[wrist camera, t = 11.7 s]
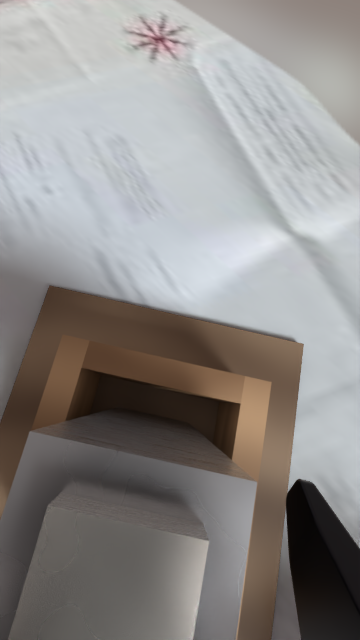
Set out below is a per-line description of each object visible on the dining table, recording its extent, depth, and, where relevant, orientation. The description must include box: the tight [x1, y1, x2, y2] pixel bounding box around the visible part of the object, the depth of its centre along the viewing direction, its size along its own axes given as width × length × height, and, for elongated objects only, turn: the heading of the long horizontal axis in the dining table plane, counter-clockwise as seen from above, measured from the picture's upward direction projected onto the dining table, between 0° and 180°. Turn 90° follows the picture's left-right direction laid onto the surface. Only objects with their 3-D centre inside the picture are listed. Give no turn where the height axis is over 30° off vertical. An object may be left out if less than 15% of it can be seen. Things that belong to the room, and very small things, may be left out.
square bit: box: [0, 407, 257, 640], centre depth 10 cm, size 4×4×13 cm
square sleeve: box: [0, 286, 304, 640], centre depth 14 cm, size 16×16×5 cm
